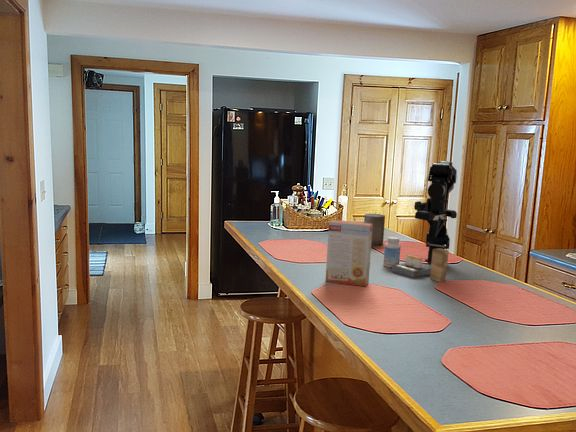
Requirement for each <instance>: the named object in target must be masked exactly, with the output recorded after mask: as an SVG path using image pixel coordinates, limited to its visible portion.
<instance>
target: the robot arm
mask: <svg viewBox="0 0 576 432" xmlns="http://www.w3.org/2000/svg"><path fill="white" fill-rule="evenodd" d="M457 173H458V171H457V169H456V168H455V167H454V166H453V161H451V160H450V161H448V160H440V161H439V163H438V162H434V163H432V164H431V165H430V166H429V173H428V177H427V182H431V184H430V185H429V186H428V188H427V195H428V196H429V198H427V200H426V202H422V201H421V200H418V201H417V200H416V201H415V202H414V207H413V209H414V210H415V211H416V212H415V214H414V219H418V220H422V221H426V222H427V223H428V225H429V227H428V228H429V229H428V232H426V240H425V242H426V243H425V247H426V248H428V254H427V258H425V259H424V261H426V262H427V263H428V262H429V263H431V261H432V251H433V249H437V248H441V249H445V250H450V242H451V241H450V240H451V239H450V236H449V234H448V229H447V227H446V225H445V224H446V222H448V219H447V218H446V217H448V218H451V219H457V214H458V213H457V211H456V210H452V209H448V204H449V203H448V202H449V196H450V193H451V192H452V191H453V190H454V187H455V184H457V179H458V177H457Z"/></svg>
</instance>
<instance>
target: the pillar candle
mask: <svg viewBox="0 0 576 432" xmlns="http://www.w3.org/2000/svg"><path fill="white" fill-rule="evenodd" d="M363 218H364V219H363V223H371V224H373V225H372V241H371V246H380V245H379V244H382V245H384V238H385V237H384V236H385V223H386V222H385V221H386V215H385V214H381V213H376V212H374V213H365V214H364V217H363Z"/></svg>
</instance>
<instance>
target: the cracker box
mask: <svg viewBox="0 0 576 432" xmlns="http://www.w3.org/2000/svg"><path fill="white" fill-rule="evenodd" d="M372 225H373V224H371V223H364V222H360V221H350V220H338V219H337V220H336V219H332V220H330V221H329V223H328V238H327V250H326V251H327V252H326V264H325V265H326V269H325V282H328V283H329V282H331V283H337V284H343V285H352V286H358V287H366V286H367V285H368V284H369V281H370V280H369V279H370V267H371V266H370V265H371V253H372V251H371V250H372V245H371V241H372Z"/></svg>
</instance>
